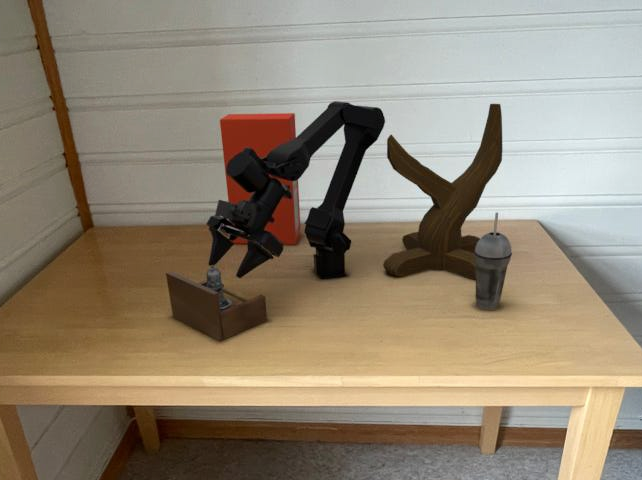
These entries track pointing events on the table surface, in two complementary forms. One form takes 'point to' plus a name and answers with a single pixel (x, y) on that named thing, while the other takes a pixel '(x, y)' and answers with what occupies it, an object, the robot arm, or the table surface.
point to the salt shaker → (217, 286)
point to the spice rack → (213, 308)
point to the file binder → (262, 138)
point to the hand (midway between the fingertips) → (223, 271)
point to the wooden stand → (446, 207)
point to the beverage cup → (491, 268)
